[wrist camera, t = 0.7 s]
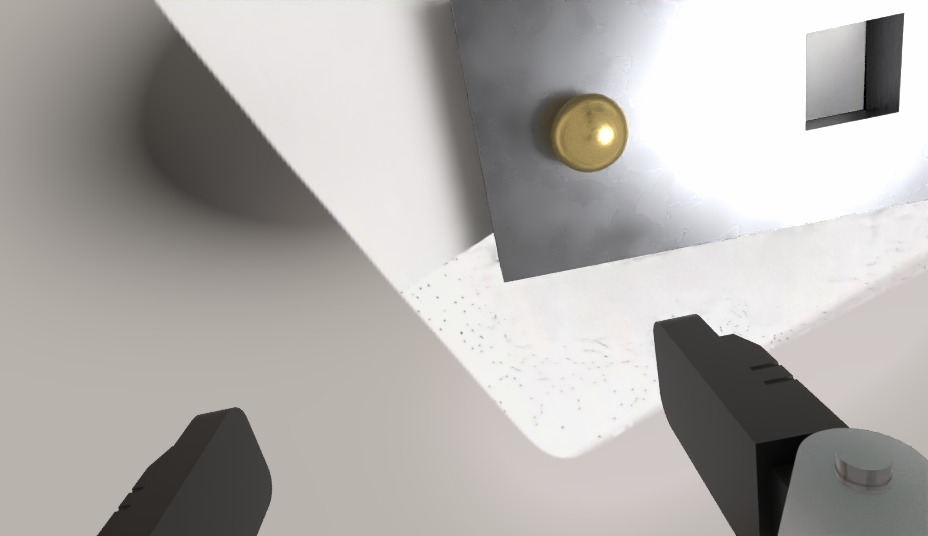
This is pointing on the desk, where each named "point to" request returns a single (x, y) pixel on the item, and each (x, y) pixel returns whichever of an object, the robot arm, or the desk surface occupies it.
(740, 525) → the robot arm
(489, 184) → the bore plate
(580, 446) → the desk surface
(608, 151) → the brass knob
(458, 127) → the desk surface
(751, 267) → the desk surface
